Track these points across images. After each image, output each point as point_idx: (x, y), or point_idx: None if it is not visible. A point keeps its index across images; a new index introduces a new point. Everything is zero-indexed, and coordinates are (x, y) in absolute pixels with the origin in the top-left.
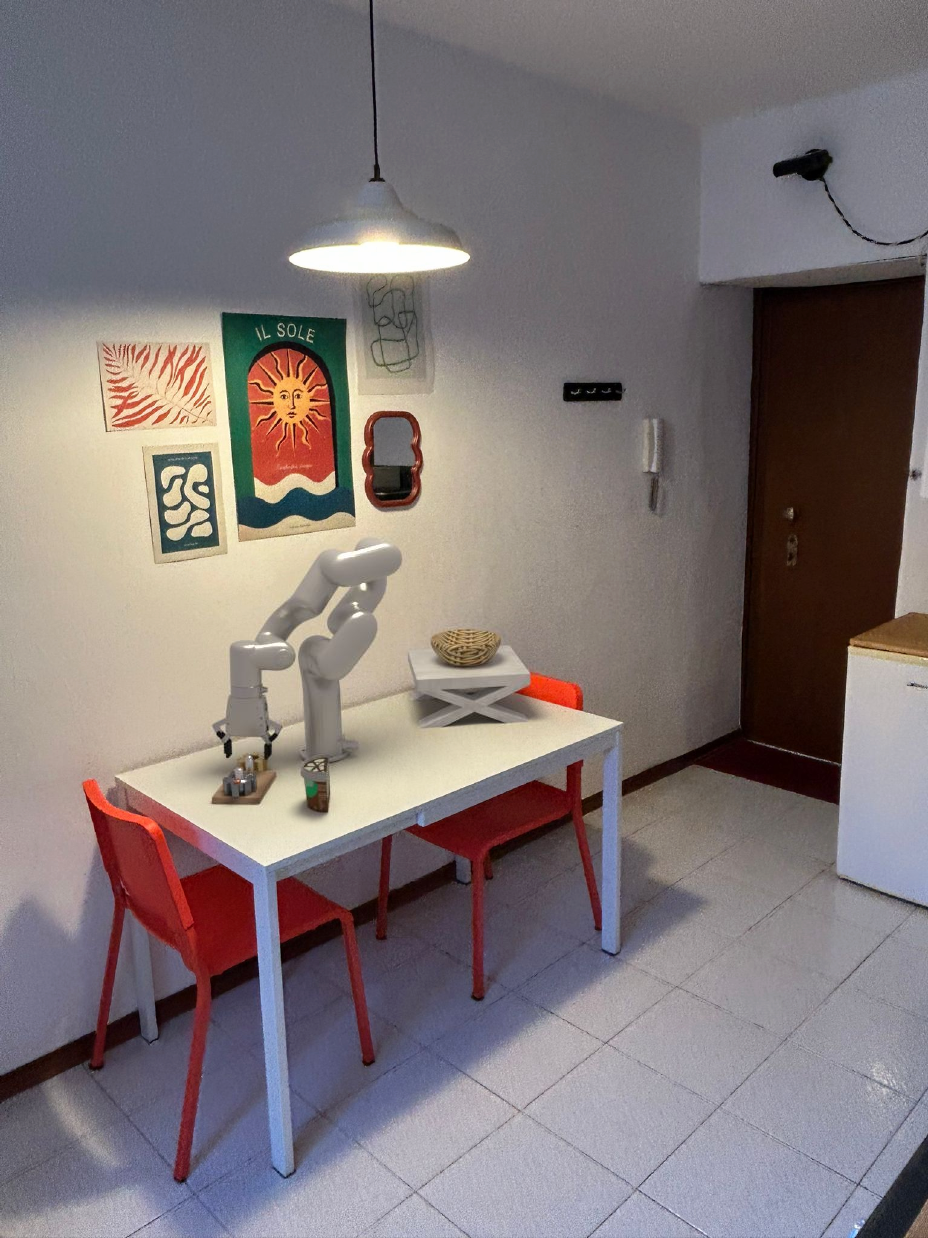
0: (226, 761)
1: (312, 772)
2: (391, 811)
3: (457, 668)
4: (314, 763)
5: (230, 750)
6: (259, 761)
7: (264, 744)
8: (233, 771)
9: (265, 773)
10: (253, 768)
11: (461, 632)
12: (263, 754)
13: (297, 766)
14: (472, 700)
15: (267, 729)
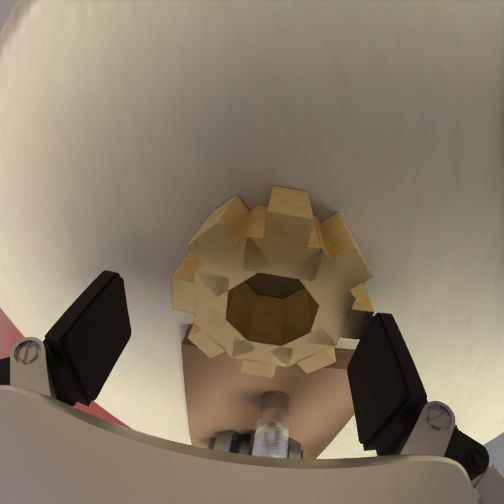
0: (105, 127)
1: None
2: (489, 439)
3: None
4: None
5: (110, 328)
6: (317, 365)
7: (366, 439)
8: (190, 349)
9: (338, 386)
10: (288, 427)
11: None
12: (348, 269)
13: (478, 257)
14: None
15: (457, 463)
